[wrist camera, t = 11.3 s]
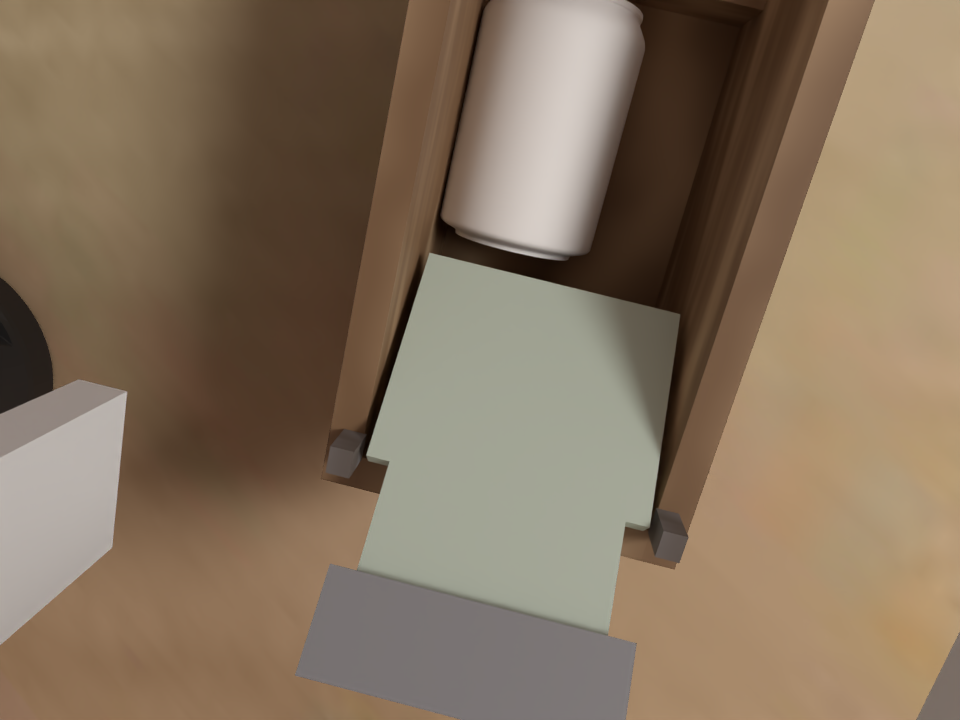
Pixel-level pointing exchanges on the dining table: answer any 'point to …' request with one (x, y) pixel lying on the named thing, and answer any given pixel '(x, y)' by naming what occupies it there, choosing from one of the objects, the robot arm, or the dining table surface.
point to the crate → (622, 210)
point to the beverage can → (542, 123)
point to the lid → (502, 502)
